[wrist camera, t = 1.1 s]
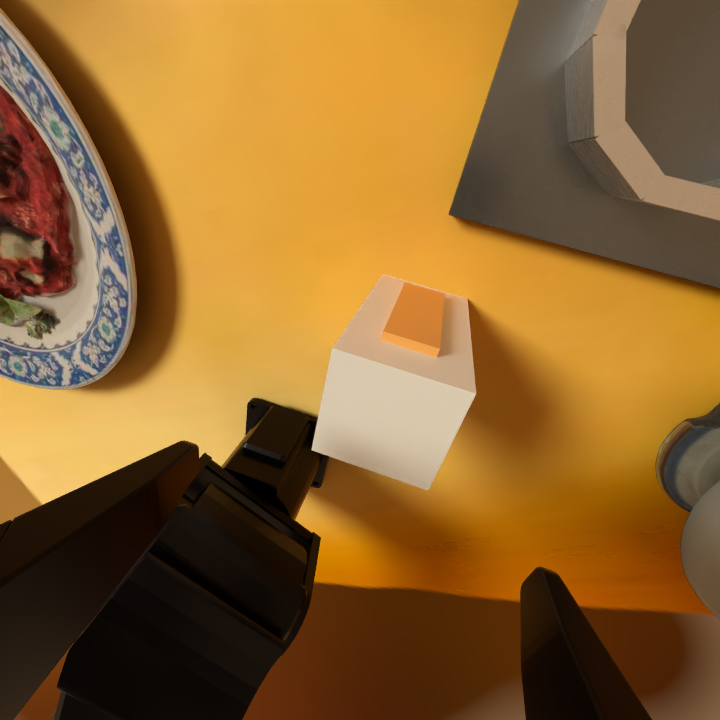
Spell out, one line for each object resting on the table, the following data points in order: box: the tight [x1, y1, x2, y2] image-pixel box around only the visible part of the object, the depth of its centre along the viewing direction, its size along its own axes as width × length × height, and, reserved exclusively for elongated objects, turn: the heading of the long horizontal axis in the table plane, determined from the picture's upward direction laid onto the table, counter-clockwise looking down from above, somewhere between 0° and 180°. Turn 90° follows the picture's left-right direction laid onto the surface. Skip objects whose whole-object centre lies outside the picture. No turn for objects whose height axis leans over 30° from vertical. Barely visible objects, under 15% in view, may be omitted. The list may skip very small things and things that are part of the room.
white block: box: [312, 274, 476, 491], centre depth 16 cm, size 5×5×9 cm
